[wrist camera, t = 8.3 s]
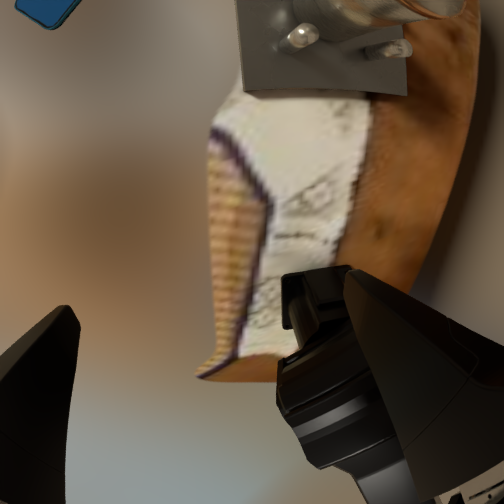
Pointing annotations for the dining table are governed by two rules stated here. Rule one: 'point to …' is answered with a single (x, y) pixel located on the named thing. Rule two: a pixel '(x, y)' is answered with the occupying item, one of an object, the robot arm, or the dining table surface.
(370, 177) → the dining table surface
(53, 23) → the smartphone
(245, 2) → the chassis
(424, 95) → the dining table surface
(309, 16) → the canister
